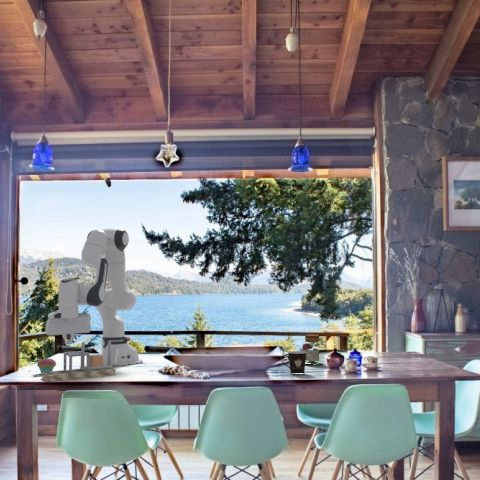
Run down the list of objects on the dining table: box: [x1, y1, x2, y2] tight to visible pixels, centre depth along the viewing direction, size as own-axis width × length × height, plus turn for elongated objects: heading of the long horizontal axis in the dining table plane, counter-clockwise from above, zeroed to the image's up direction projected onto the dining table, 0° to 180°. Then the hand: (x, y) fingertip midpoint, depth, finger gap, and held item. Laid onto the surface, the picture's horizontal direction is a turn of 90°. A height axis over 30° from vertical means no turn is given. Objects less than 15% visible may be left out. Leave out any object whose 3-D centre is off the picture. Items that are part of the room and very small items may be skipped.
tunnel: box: [63, 350, 90, 374], centre depth 277 cm, size 9×10×8 cm
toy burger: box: [299, 333, 323, 365], centre depth 313 cm, size 12×13×15 cm
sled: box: [79, 341, 113, 370], centre depth 282 cm, size 14×5×12 cm, turn 123°
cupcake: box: [36, 348, 57, 375], centre depth 286 cm, size 9×8×12 cm
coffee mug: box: [279, 350, 307, 374], centre depth 283 cm, size 12×9×10 cm
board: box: [42, 366, 116, 382], centre depth 277 cm, size 31×10×3 cm, turn 123°
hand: (68, 343), depth 275 cm, fingers closed
